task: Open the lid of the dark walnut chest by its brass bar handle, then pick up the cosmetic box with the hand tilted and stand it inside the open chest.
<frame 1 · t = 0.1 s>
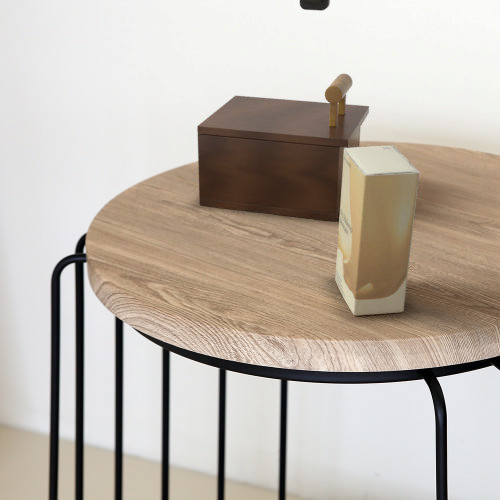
hand: (326, 1, 65), 22 cm above the table, tool pointing down, fingers open, 8 cm apart
chest: (281, 192, 88), on the table
cosmetic box: (368, 299, 66), on the table
lid: (287, 99, 83), point 10 cm above the table, hinge at 0.0°
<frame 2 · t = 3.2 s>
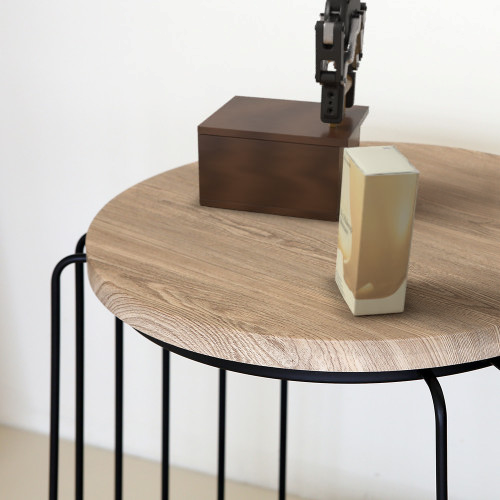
hand: (337, 113, 82), 9 cm above the table, tool pointing down, fingers closed on lid, 5 cm apart
lid: (287, 99, 83), point 10 cm above the table, hinge at 0.0°, touching gripper
everything else where it was.
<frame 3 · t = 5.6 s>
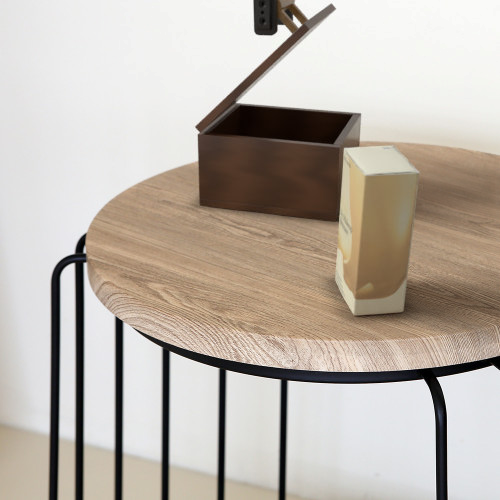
hand: (274, 28, 80), 18 cm above the table, tool pointing down, fingers closed on lid, 5 cm apart
lid: (253, 51, 82), point 15 cm above the table, hinge at 44.6°, touching gripper
everything else where it was.
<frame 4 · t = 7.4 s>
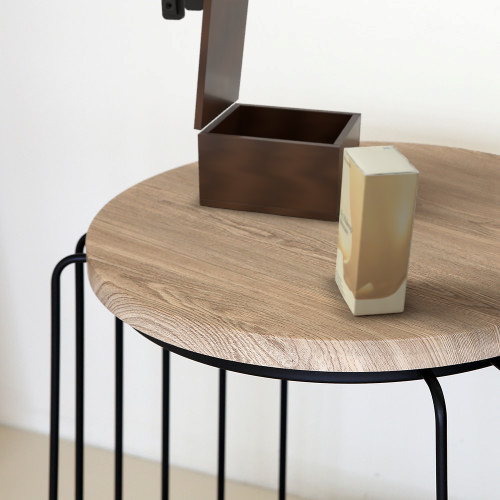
hand: (184, 13, 82), 19 cm above the table, tool pointing down, fingers closed on lid, 5 cm apart
lid: (204, 38, 83), point 16 cm above the table, hinge at 83.7°, touching gripper
everything else where it was.
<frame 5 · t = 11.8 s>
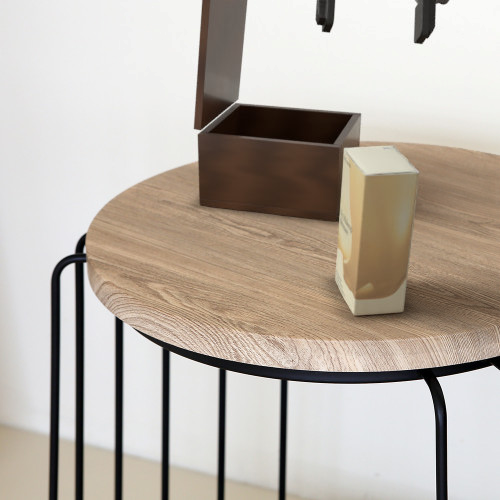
hand: (374, 34, 71), 19 cm above the table, tool tilted 40°, fingers open, 8 cm apart
lid: (204, 38, 83), point 16 cm above the table, hinge at 84.4°
everything else where it was.
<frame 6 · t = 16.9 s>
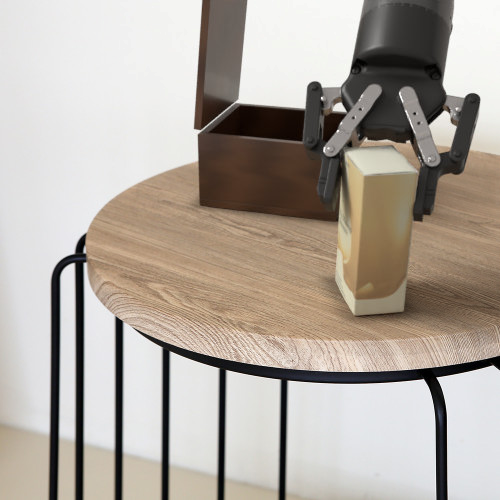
hand: (372, 212, 61), 8 cm above the table, tool tilted 45°, fingers closed on cosmetic box, 6 cm apart
cosmetic box: (368, 299, 66), on the table, touching gripper
everything else where it was.
when the fingers open (9 cm above the table, at t = 26.8 s): cosmetic box stays where it is, resting on chest.
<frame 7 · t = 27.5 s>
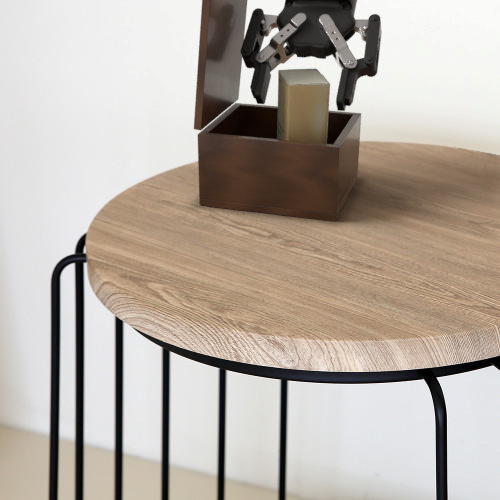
hand: (299, 103, 82), 10 cm above the table, tool tilted 45°, fingers open, 8 cm apart
cosmetic box: (299, 188, 87), point 1 cm above the table, touching chest
everything else where it was.
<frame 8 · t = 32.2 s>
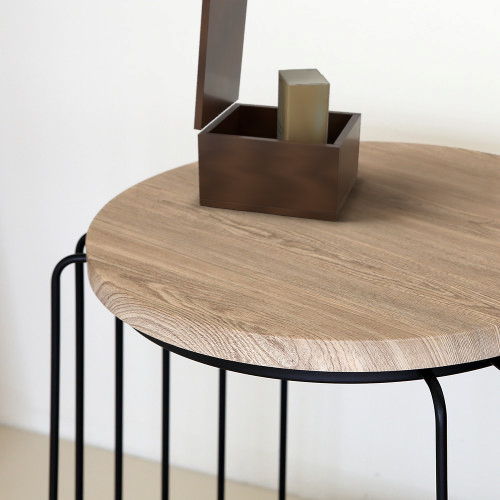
nothing on the table moved.
at the end: lid at +84° (first picture: +0°); cosmetic box inside the target area in the chest (2.0 cm from its centre), point 0.6 cm above the chest's base; cosmetic box tilted 0° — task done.
